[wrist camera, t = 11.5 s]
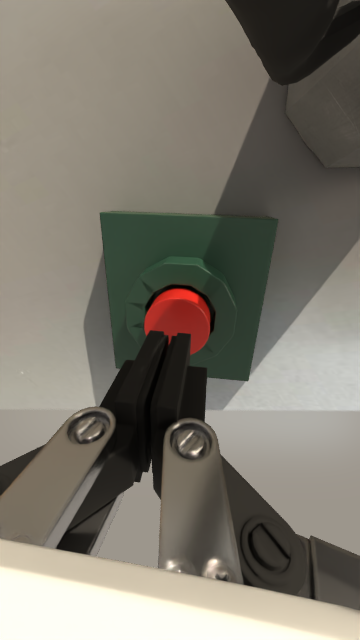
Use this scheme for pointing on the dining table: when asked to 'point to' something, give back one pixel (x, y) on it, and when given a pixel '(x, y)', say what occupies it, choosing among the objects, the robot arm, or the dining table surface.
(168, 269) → the button box
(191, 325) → the button
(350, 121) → the coffeepot
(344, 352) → the dining table surface
